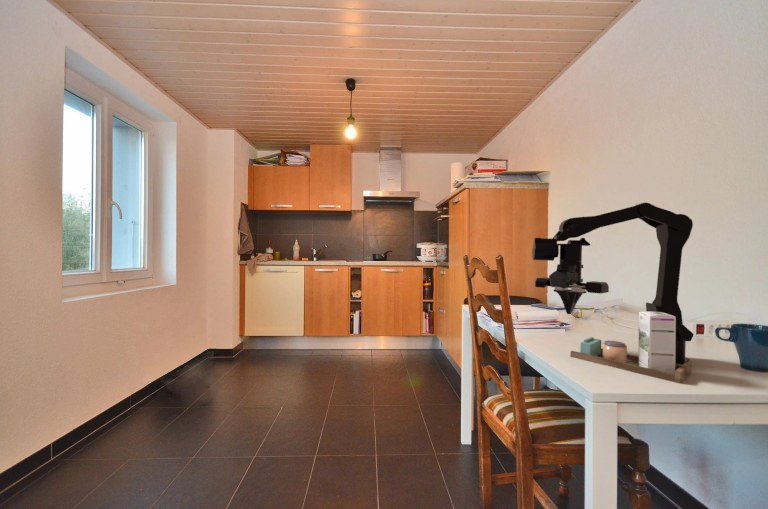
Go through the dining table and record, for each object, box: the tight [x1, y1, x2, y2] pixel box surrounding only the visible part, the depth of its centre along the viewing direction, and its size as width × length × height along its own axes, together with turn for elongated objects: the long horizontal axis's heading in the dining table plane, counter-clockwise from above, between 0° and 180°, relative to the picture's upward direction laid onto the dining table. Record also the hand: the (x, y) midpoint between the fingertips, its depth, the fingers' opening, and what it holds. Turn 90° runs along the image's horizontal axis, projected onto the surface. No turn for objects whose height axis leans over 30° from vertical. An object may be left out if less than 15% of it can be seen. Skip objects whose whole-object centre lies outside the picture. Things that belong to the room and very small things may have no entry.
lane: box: [569, 347, 692, 384], centre depth 92 cm, size 10×24×2 cm, turn 38°
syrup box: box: [637, 310, 676, 374], centre depth 87 cm, size 6×6×14 cm
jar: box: [602, 340, 628, 363], centre depth 94 cm, size 5×5×5 cm
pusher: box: [579, 336, 602, 357], centre depth 99 cm, size 8×2×5 cm, turn 128°
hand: (569, 314), depth 103 cm, fingers closed
